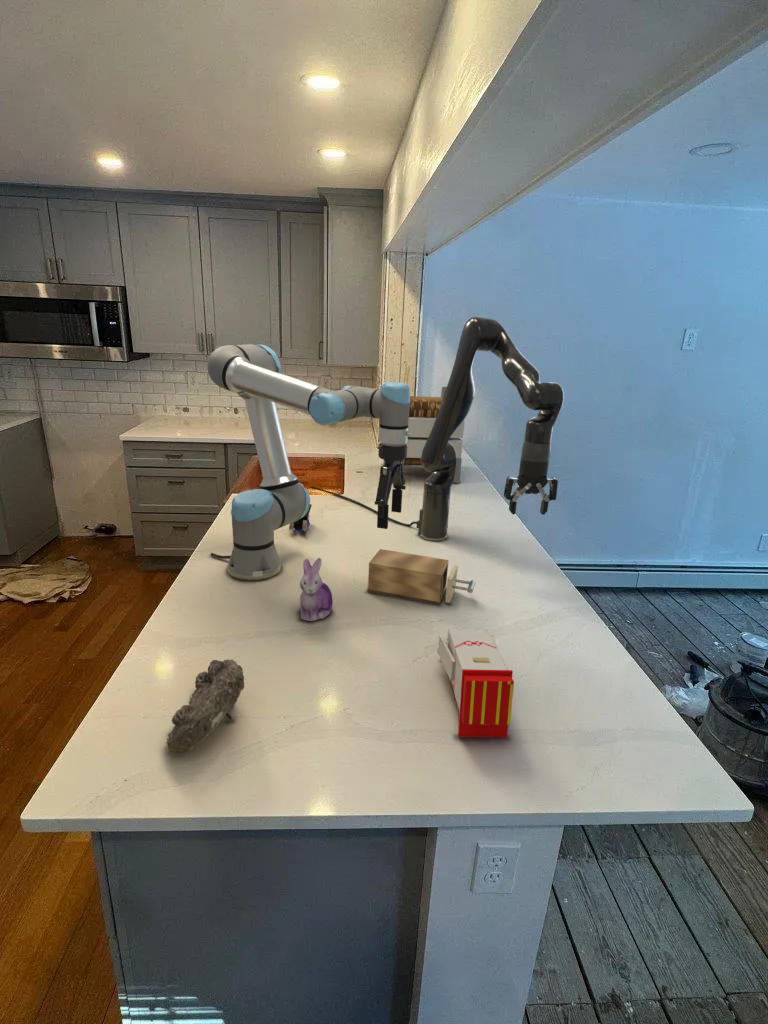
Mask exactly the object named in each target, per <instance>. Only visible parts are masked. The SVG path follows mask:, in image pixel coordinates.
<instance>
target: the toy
mask: <svg viewBox="0 0 768 1024" xmlns="http://www.w3.org/2000/svg"><path fill="white" fill-rule="evenodd" d="M446 640H447V643H446V641H445V639H444V636H443V635H442V634H439V637H438V646H437V656H438V657H439V659H440V661H441V663H442V666H443V668H444V670H445V672H446V674H447V677H448V679H449V681H450V684H451V687H452V690H453V693H454V697H455V701H456V705H457V708H458V711H459V714H458V715H459V716H458V730H457V731H458V732H457V737H458V738H508V731H509V726H510V725H511V717H512V707H513V697H514V696H513V695H514V684H515V680H514V679H513V673H514V671H513V670H512V669H508V667H507V665H506V662H505V661H504V659H503V658H502V655H501V653H500V651H499V649H498V647H497V643H496V639H495V637H494V635H493V634H491V632H490V631H489V629H467V628H466V629H465V628H463V629H461V628H460V629H459V628H448V630H447V639H446Z"/></svg>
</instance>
